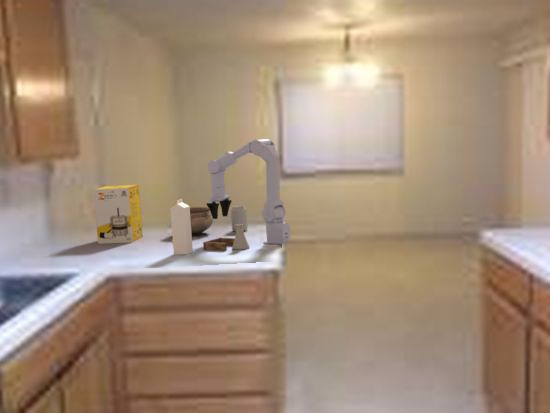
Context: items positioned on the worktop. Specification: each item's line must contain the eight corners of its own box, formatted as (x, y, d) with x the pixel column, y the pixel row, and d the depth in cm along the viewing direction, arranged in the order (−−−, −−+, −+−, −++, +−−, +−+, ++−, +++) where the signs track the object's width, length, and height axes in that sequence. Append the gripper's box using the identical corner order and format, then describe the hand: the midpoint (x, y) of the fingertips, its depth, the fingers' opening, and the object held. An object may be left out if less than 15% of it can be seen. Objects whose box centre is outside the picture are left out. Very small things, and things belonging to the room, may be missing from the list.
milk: (173, 254, 285) (169, 200, 282) (179, 252, 290) (175, 198, 288) (187, 254, 283) (183, 199, 280) (193, 251, 289) (189, 198, 286)
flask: (252, 247, 292) (251, 223, 291) (244, 250, 285) (243, 226, 284) (237, 246, 295) (235, 223, 294) (228, 250, 288) (227, 225, 287)
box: (241, 245, 297) (241, 238, 297) (225, 250, 287) (224, 243, 286) (220, 244, 303) (220, 237, 302) (203, 249, 293) (203, 242, 292)
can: (240, 232, 334) (239, 207, 333) (228, 231, 339) (227, 206, 337) (250, 230, 340) (249, 205, 339) (238, 229, 345) (237, 204, 343)
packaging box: (98, 243, 324) (93, 189, 321) (109, 238, 340) (105, 186, 337) (132, 242, 322) (128, 187, 319) (142, 236, 338) (138, 184, 335)
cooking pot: (181, 230, 350) (180, 206, 349) (219, 229, 347) (217, 204, 346) (166, 239, 325) (164, 213, 324) (206, 238, 323) (205, 211, 321)
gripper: (220, 185, 320) (222, 215, 322) (200, 188, 308) (203, 219, 309) (233, 185, 316) (235, 215, 318) (214, 188, 304) (216, 220, 306)
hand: (220, 217), depth 313 cm, fingers open, 7 cm apart
